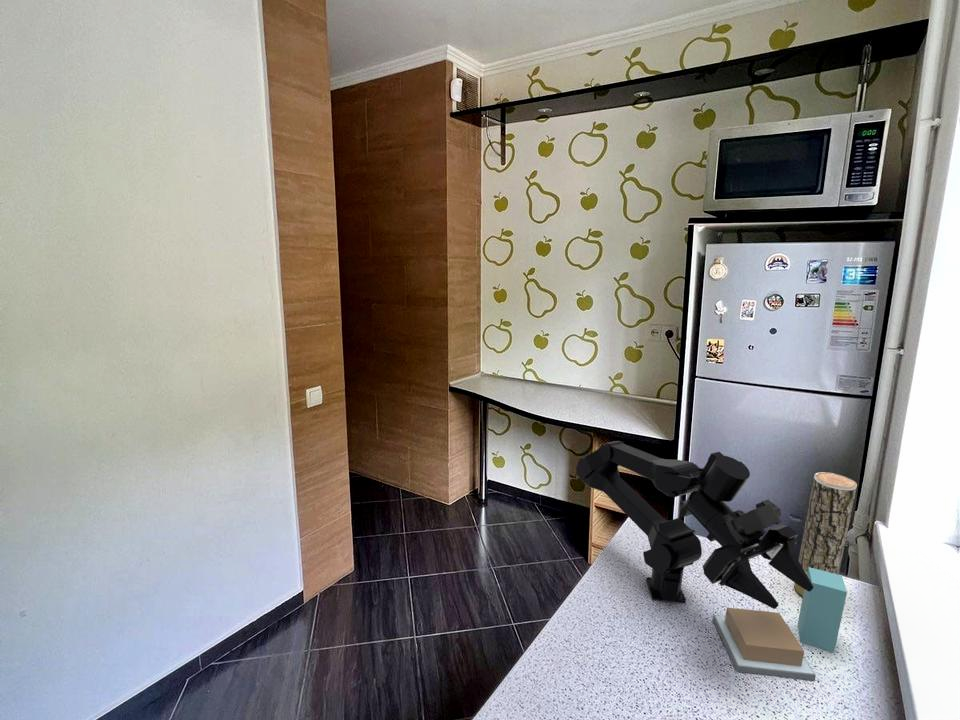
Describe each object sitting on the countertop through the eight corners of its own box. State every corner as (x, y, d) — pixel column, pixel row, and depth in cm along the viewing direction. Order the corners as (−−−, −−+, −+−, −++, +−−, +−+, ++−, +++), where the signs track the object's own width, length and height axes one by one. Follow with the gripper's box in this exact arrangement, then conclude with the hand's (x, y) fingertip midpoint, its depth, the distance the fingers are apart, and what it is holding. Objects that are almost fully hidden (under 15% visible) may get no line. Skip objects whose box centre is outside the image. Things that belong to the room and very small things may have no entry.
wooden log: (832, 610, 98) (856, 491, 93) (791, 595, 102) (812, 480, 97) (834, 592, 103) (857, 479, 98) (795, 578, 107) (815, 469, 102)
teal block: (800, 642, 90) (812, 582, 87) (797, 624, 94) (808, 567, 91) (834, 653, 88) (847, 592, 85) (829, 634, 92) (841, 575, 89)
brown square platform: (712, 619, 95) (715, 600, 94) (780, 626, 93) (784, 607, 92) (736, 671, 83) (740, 650, 82) (814, 680, 82) (819, 659, 81)
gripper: (703, 498, 81) (786, 584, 70) (774, 477, 90) (858, 551, 79) (674, 542, 87) (746, 628, 76) (743, 519, 96) (817, 592, 85)
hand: (794, 598), depth 79 cm, fingers open, 9 cm apart
